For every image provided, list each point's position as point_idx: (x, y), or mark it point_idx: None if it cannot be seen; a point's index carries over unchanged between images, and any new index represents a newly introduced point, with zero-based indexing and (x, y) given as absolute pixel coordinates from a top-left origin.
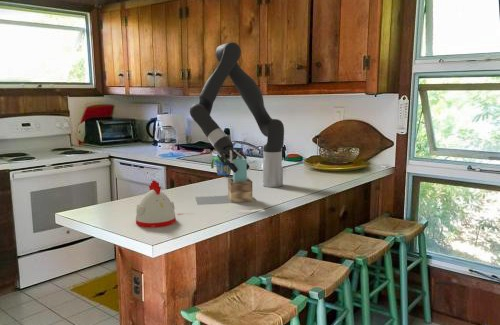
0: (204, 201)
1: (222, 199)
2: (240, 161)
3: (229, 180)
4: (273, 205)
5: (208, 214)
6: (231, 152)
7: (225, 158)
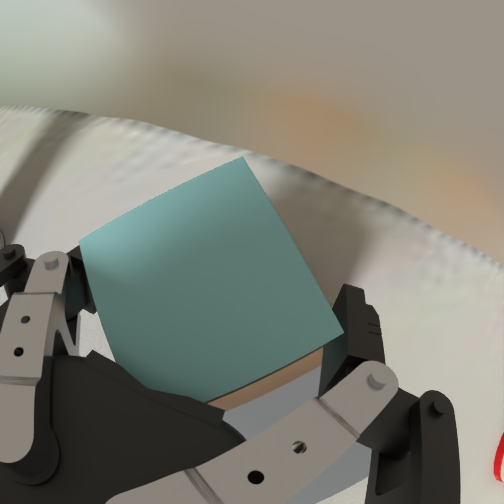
0: (337, 463)
1: (276, 406)
2: (289, 244)
3: (268, 390)
4: (277, 165)
5: (470, 357)
6: (174, 498)
7: (450, 453)
